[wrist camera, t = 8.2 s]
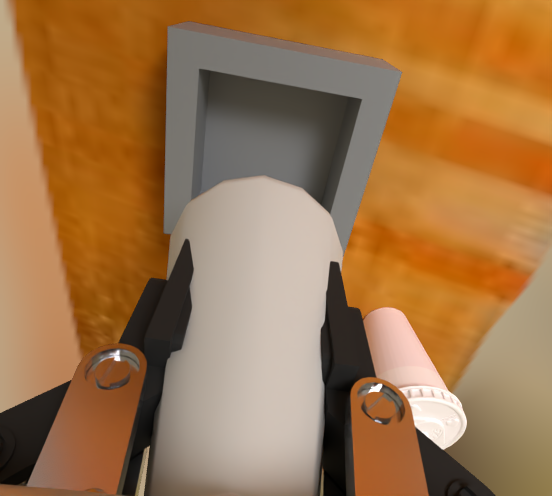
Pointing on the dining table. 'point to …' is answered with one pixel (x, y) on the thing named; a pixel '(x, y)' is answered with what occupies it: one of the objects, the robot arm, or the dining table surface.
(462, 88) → the dining table surface
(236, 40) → the socket holder
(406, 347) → the smoothie
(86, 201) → the dining table surface
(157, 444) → the salt shaker
